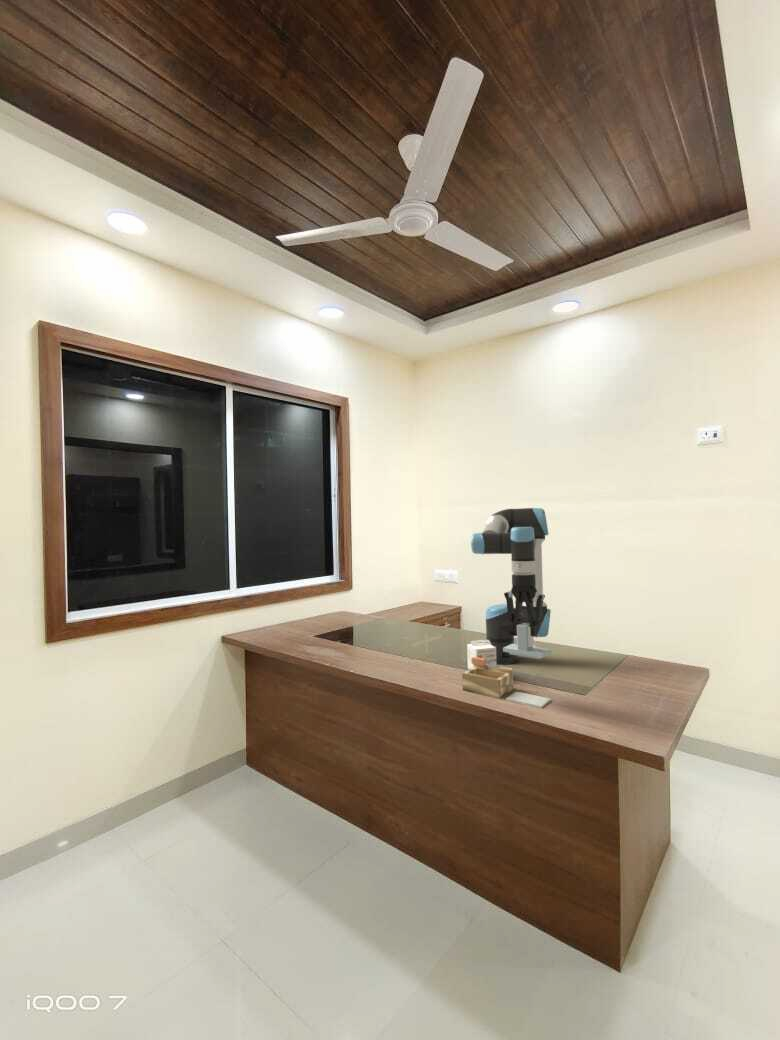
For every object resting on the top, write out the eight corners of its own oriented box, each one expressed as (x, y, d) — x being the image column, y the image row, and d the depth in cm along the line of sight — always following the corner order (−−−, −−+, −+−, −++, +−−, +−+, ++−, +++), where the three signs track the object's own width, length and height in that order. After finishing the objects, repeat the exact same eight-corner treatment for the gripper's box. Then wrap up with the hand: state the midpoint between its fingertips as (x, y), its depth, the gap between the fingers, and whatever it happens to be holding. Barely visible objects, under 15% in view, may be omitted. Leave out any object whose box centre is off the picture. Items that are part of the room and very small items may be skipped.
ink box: (476, 680, 179) (475, 644, 179) (467, 673, 187) (466, 639, 187) (497, 677, 181) (496, 642, 181) (487, 671, 189) (486, 637, 189)
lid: (515, 648, 166) (514, 619, 166) (553, 654, 158) (552, 623, 158) (503, 654, 159) (502, 623, 159) (542, 660, 150) (541, 628, 150)
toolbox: (477, 681, 177) (477, 662, 177) (513, 689, 168) (512, 668, 168) (462, 690, 169) (462, 669, 169) (499, 698, 160) (498, 676, 160)
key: (474, 662, 177) (473, 656, 177) (486, 664, 173) (486, 658, 173) (471, 663, 175) (471, 657, 175) (483, 665, 172) (483, 660, 172)
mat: (516, 693, 164) (516, 691, 164) (550, 700, 157) (550, 698, 157) (506, 700, 158) (506, 698, 158) (541, 708, 151) (541, 706, 151)
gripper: (495, 573, 159) (497, 644, 159) (543, 575, 149) (545, 651, 149) (505, 571, 165) (507, 639, 165) (551, 573, 155) (553, 646, 155)
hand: (525, 644), depth 157 cm, fingers closed on lid, 3 cm apart
